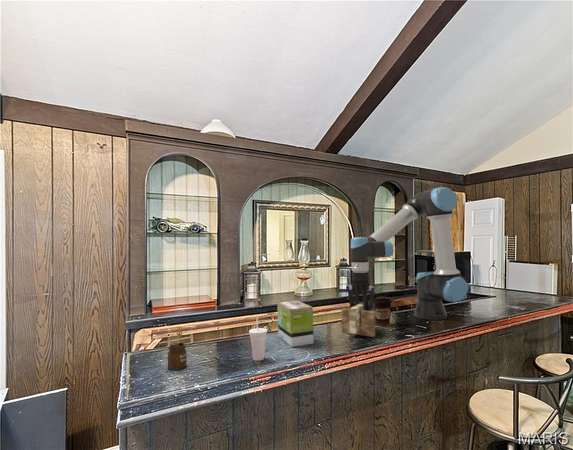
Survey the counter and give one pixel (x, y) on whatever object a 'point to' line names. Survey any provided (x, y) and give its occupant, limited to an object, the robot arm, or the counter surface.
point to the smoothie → (258, 342)
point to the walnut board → (360, 323)
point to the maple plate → (355, 318)
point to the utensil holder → (177, 354)
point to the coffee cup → (382, 310)
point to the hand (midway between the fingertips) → (361, 324)
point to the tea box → (295, 323)
